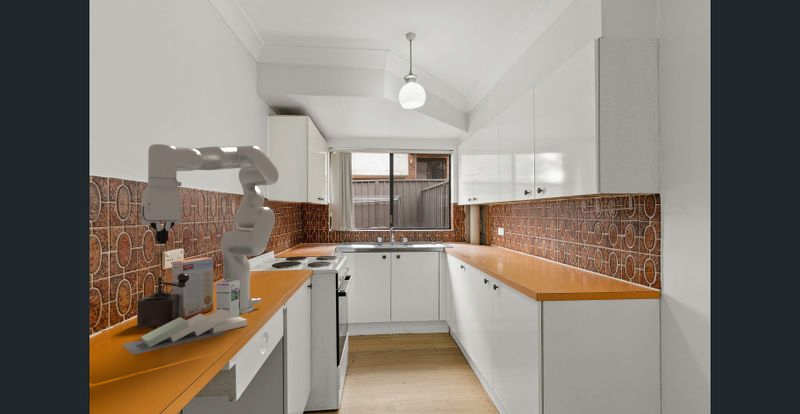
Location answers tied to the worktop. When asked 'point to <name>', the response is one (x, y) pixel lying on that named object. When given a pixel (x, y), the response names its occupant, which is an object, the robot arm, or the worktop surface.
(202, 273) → the cracker box
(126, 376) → the worktop surface
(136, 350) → the mat
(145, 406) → the worktop surface
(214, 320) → the domino
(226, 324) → the domino
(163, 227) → the robot arm
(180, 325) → the domino
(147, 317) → the dark block with crank
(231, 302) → the syrup box
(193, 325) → the domino
